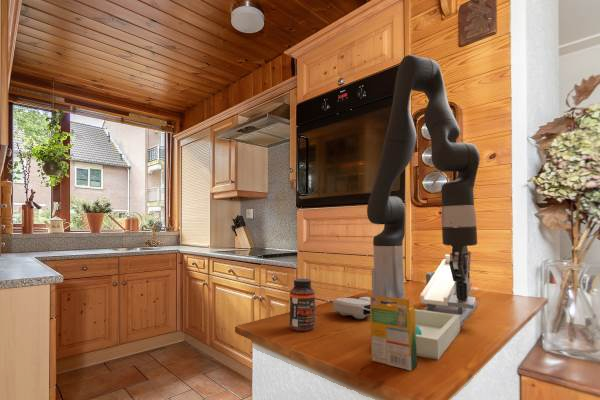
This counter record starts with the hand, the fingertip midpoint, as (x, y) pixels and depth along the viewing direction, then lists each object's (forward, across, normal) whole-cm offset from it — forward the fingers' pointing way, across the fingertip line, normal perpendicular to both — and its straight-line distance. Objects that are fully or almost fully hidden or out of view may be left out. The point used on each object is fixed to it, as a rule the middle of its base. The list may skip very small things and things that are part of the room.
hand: (462, 298), depth 81 cm
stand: (+6, -11, -6) cm, 14 cm away
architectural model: (+7, -35, -6) cm, 36 cm away
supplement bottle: (+6, +21, -31) cm, 38 cm away
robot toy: (+7, +2, -25) cm, 26 cm away
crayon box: (+6, +29, -6) cm, 31 cm away
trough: (0, -11, -3) cm, 12 cm away
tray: (+6, +14, -6) cm, 16 cm away
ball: (+4, +20, -6) cm, 21 cm away
